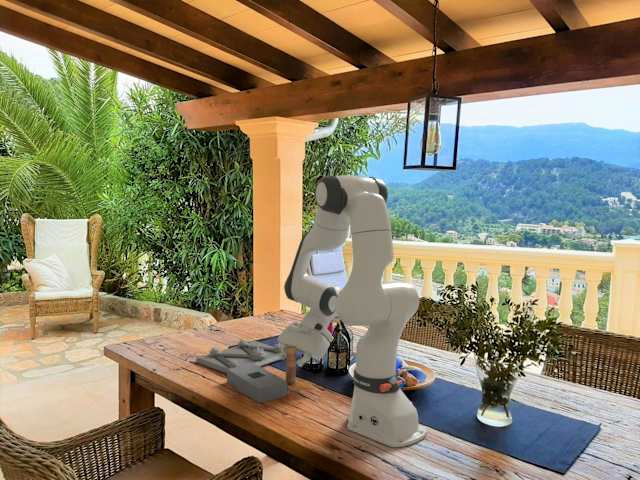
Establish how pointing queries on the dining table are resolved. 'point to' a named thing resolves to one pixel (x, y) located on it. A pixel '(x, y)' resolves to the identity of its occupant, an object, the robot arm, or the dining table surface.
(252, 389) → the socket block
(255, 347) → the grey crossed stick tray
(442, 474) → the dining table surface
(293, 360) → the peg
